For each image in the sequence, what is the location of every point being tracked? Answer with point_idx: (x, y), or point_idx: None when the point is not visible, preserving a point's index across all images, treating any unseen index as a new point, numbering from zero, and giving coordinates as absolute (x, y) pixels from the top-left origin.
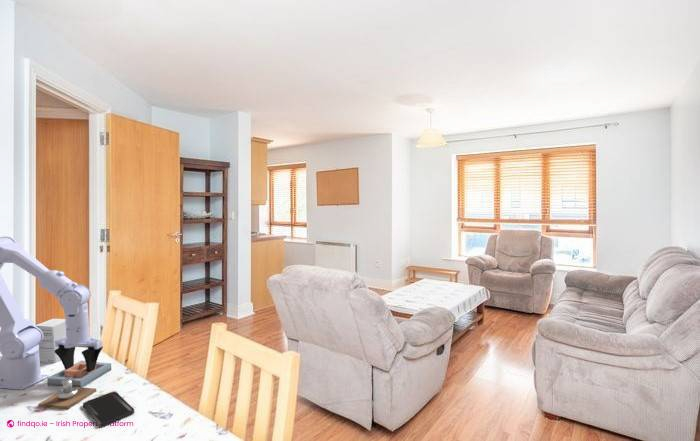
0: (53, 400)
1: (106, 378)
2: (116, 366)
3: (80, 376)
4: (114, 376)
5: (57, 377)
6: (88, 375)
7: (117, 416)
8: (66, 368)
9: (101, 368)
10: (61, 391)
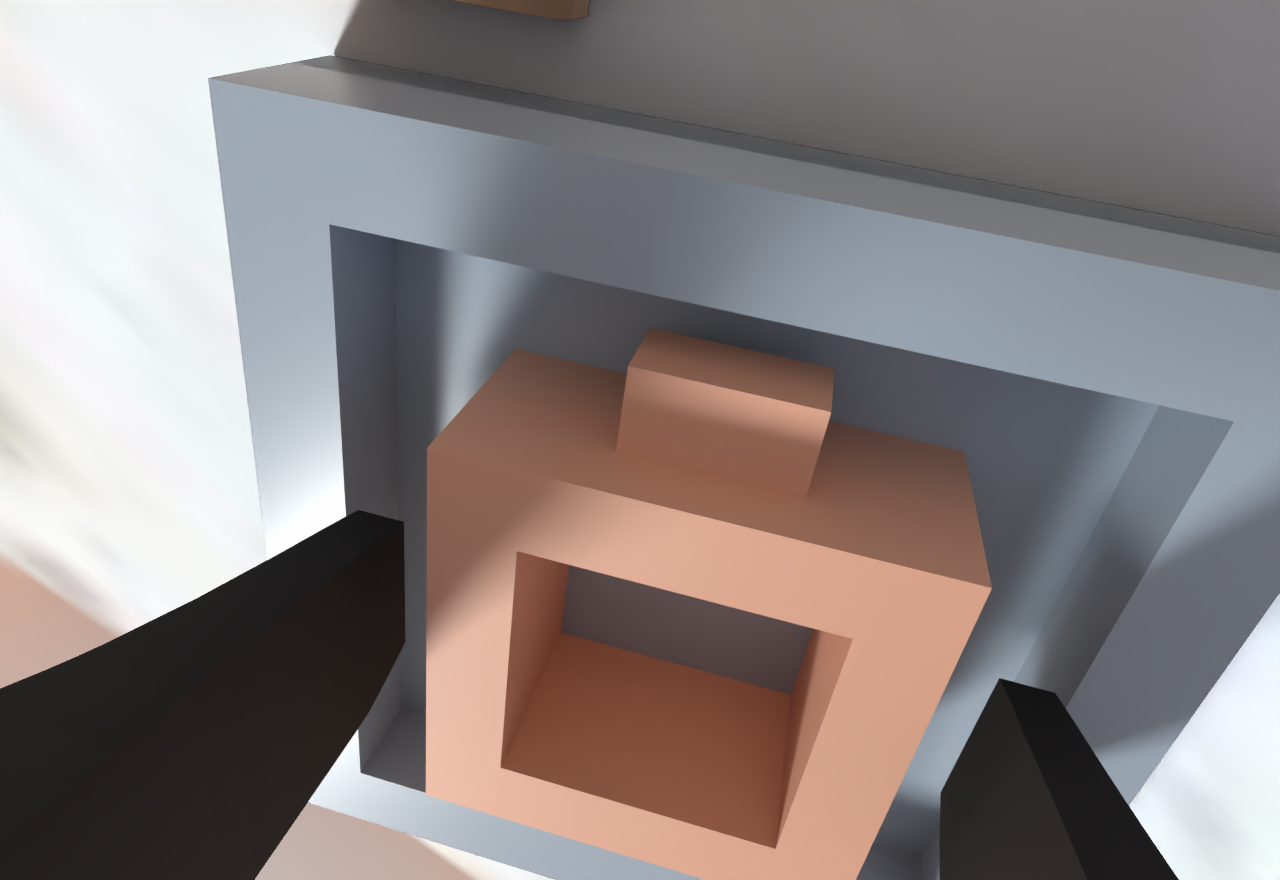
0: None
1: (194, 437)
2: None
3: (485, 386)
4: (129, 488)
5: (1089, 349)
6: (274, 373)
7: None
8: (1022, 718)
9: None
10: None
